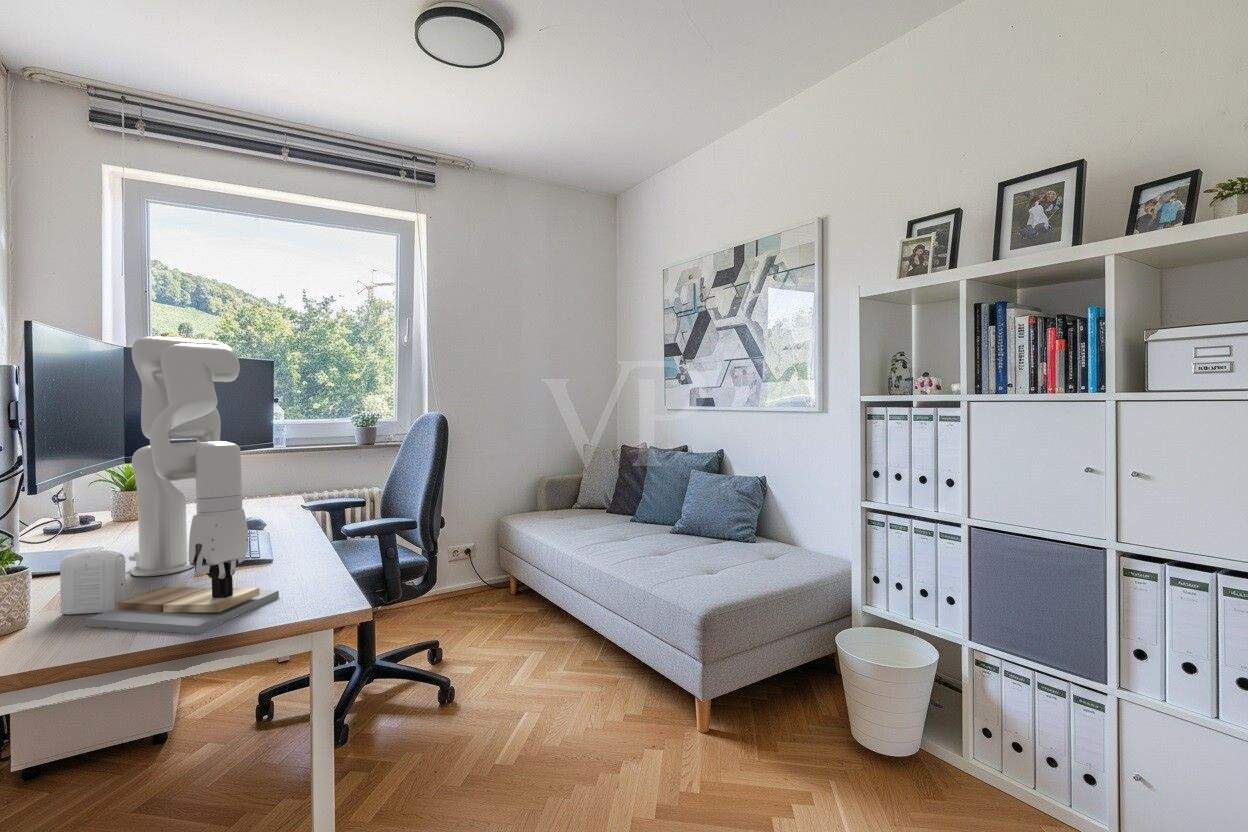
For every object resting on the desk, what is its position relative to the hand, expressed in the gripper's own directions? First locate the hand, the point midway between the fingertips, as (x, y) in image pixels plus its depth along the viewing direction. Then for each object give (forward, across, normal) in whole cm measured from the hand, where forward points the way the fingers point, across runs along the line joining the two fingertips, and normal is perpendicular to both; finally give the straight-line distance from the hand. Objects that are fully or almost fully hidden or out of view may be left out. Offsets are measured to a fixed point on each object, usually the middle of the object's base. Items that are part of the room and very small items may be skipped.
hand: (222, 596), depth 116 cm
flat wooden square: (+2, -1, -14) cm, 14 cm away
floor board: (+3, -1, -8) cm, 9 cm away
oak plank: (+2, 0, -3) cm, 3 cm away
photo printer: (+3, +2, -27) cm, 28 cm away
